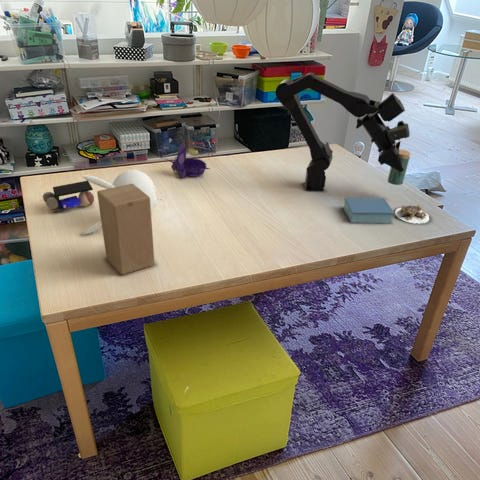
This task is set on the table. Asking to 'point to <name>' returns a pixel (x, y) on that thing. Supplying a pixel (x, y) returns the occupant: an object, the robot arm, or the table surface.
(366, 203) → the slate blue base plate
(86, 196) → the toy car
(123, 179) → the stuffed toy
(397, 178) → the canister
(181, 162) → the creature
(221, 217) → the table surface
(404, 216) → the frog figurine
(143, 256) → the wooden block
